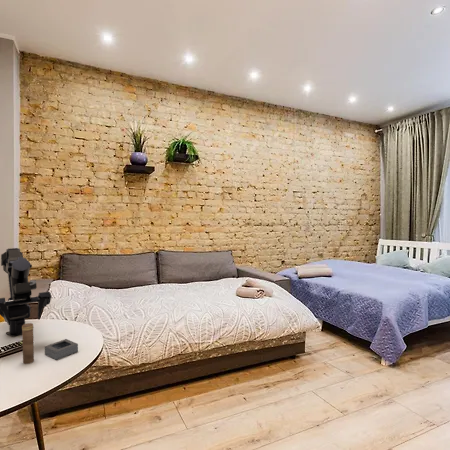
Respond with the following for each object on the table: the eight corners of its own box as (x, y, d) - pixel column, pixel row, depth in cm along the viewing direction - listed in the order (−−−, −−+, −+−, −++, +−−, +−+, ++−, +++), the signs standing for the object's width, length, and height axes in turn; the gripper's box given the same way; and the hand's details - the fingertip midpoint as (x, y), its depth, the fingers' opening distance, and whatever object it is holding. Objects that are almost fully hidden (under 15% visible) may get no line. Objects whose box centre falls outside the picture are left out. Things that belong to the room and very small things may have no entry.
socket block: (44, 354, 115) (44, 346, 115) (66, 346, 121) (65, 338, 121) (56, 360, 110) (56, 351, 110) (77, 351, 117) (77, 343, 117)
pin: (21, 362, 109) (20, 325, 108) (31, 358, 111) (30, 322, 111) (25, 364, 107) (24, 327, 106) (35, 361, 110) (35, 324, 109)
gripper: (-10, 277, 112) (-7, 315, 104) (49, 271, 123) (56, 305, 115) (-10, 294, 118) (-8, 332, 110) (46, 287, 130) (52, 320, 122)
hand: (24, 321), depth 114 cm, fingers open, 9 cm apart
